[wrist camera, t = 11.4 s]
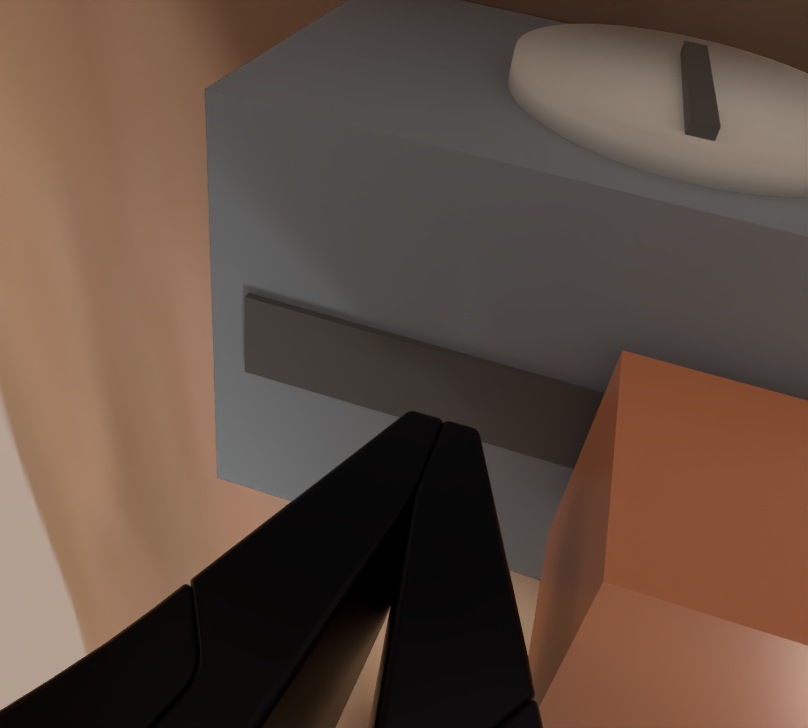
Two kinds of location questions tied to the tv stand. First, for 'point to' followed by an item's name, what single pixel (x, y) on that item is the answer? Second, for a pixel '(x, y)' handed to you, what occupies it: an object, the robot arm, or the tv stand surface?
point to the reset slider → (679, 560)
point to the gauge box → (492, 236)
